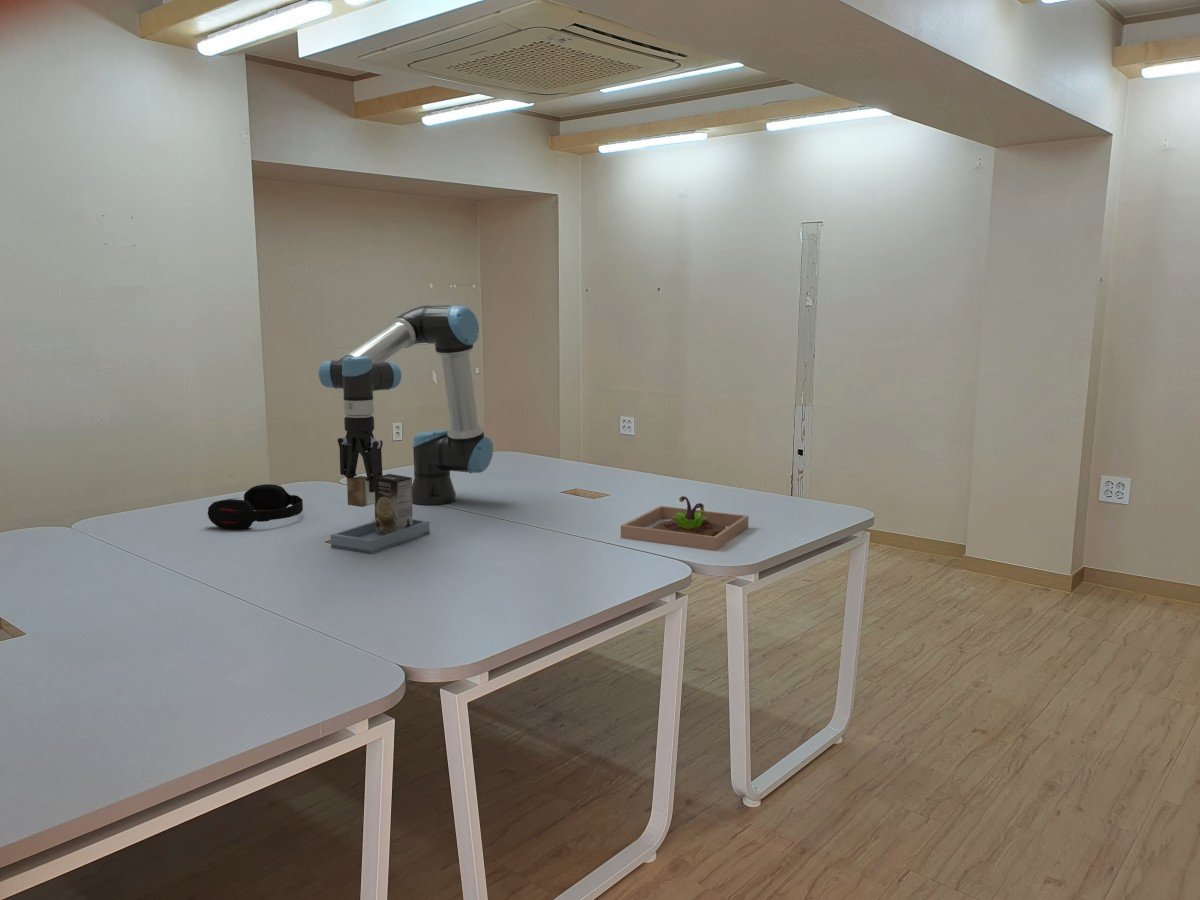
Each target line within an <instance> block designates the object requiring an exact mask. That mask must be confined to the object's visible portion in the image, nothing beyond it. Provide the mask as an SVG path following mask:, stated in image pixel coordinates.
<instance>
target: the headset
mask: <svg viewBox="0 0 1200 900" xmlns="http://www.w3.org/2000/svg"><path fill="white" fill-rule="evenodd" d="M303 503H304V500H303V499H302V498H301V497H300V496H299V495H294V494H290V493H288V492H287V491H286V490H285V488H284V487H283V486H281V485H278V484H269V483H266V484H258V485H255V486H253V487H250V488H249V489H247V491H245V492H244V494H243V499H238V498H236V497H233V498H228V499H222V500H218V501H217V500H216V501H213V502H211V504H210V506H209V507H208V508H207V516H208V519H209V522H210V521H211V523H212V524H213V525H214V526H216V527H218V528H220V529H222V530H226V531H227V530H229V531H239V530H240V531H242V530H247V529H249V528H250V527H252V525H253V523H254V522H257V523H259V522H260V523H263V522H264V523H265V522H269V521H272V520H273V521H274V520H282V519H287V518H291V517H296V516H298V515H299V514H301V513H302V512H303V511H304V505H303ZM290 505H291V506H290Z"/></svg>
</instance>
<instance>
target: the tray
mask: <svg viewBox="0 0 1200 900" xmlns="http://www.w3.org/2000/svg"><path fill="white" fill-rule="evenodd" d="M430 528H431V527H430V521H428V520H422V519H416V518H413V526H410V527H407V528H404V529H401V530H398V531H395V532H392V533H389V534H386V535H383V534H378V533H376V532H375V520H373V521H370V522H367V523H363V524H360V525H356V526H353V527H350V528H348V529H345V530H341V531H338V532H335V533H332V534H330V548H333V549H340V550H345V551H352V552H357V553H362V554H369V555H374V554H376V553H380V552H382V551H385V550H387V549H390V548H393V547H395V546H398V545H401V544H404V543H406V542H409V541H412V540H415V539H418V538H420V537H423V536H426V535H428V534H430V533H431V532H430Z"/></svg>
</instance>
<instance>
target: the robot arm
mask: <svg viewBox="0 0 1200 900" xmlns="http://www.w3.org/2000/svg"><path fill="white" fill-rule="evenodd" d="M479 332H480V327H479V322H478V319H477V317H476V315H475V313H474V312H473V311H472V310H471V308H469V307H467V306H464V305H455V304H454V305H451V304H450V305H448V304H447V305H421V306H418V307H415V308H412V309H409V310H407V311H405V312H404V313H402V314H400V315H398V316H397V317H395V318H393V319H392V320H391V321H390V322H389V323H388V325H387V327H386V328H384V329H383V330H382V331H380V332H379V333H378V334H375V336H374V335H373V337H372V338H370V339H369V340H367V341H365V342H364V343H362V344H361V345H359V346H358V347H356V348H355V349H353V350H351V352H349V353H347V354H346V355H344V356H343V357H341V358H340V359H338V360H333V359H332V360H326V361H323V363H321V364H320V366H319V368H318V378H319V382H320V383H321V385H322V386H324V387H325V388H329V389H330V388H331V389H336V390H337V389H342V390H343V392H342V393H343V414H344V415H345V417H344V419H343V420H344V423H343V424H344V431H346V435H345V436H343V437H339V438H337V443H338V447H339V469H340V470H339V473H340V475H341V476H345V479H346V480H347V479H349V478H353V477H358V474H356V472H357V466H358V460H359V455H360V456H361V457H362V461H363V465H364V469H365V475H366V477H367V479H366V480H365V492H366V505H368V506H370V504H372V505H375V504H374V503H375V492H376V479H377V478H380V477H382V475H383V459H382V458H383V457H382V453H383V452H382V448H383V443H384V442H383V440H382V439H381V440H380V439H379V440H377V439H375V436H374V434H373V432H374V430H375V417H374V416H373V415H374V413H375V408H374V392H376V391H385V390H386V391H390V390H391V389H395V388H397V386H399V384H400V383H401V380H402V372H401V369H400V367H399V366H398V365H397V364H396V363H395V362H392V361H387V360H388V359H389V358H391V357H393V356H394V355H395V354H397V353H398V352H400V351H401V350H403V349H409V348H411V347H412V346H414V345H419V344H434V349H435V353H436V354H438V355H439V356H440V357H441V362H442V370H443V378H444V384H445V385H444V386H445V392H446V398H447V406H448V407H447V408H448V415H449V421H450V430H448V429H439V430H438V429H437V430H430V431H424V432H419V433H416V434H415V435H414V436H413V440H412V441H413V443H412V449H413V450H412V451H413V471H414V472H413V475H414V476H413V480H412V504H415V505H416V504H417V505H421V506H422V505H424V506H425V505H426V506H435V505H445V504H448V503H449V504H450V503H453V502H454V501H456V499H457V496H456V495H457V492H456V491H455V488H454V485H453V481H452V479H451V478H452V477H451V472H459V473H460V472H461V473H469V474H473V473H475V474H476V473H477V474H479V473H484V472H485V471H486V470H487V468H488V467H489V466H490V464H491V461H492V458H493V455H494V444H493V441H492V440H491V438H490V437H488V436H485V432H484V428H482V427H481V426H480V425H479V422H478V414H477V413H478V412H477V407H476V406H477V405H476V398H475V397H476V396H475V390H474V381H473V373H472V372H473V371H472V365H471V359H470V358H471V357H470V353H471V351H472V350H474V344H475V343H476V342H477V340H478V339H479V335H478V334H479Z"/></svg>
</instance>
